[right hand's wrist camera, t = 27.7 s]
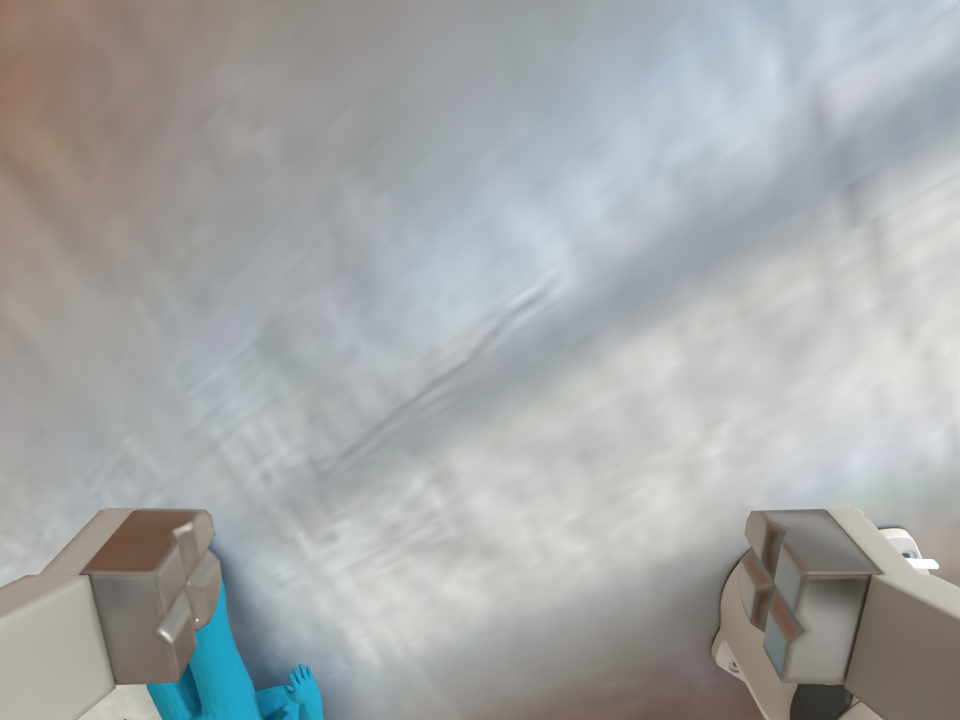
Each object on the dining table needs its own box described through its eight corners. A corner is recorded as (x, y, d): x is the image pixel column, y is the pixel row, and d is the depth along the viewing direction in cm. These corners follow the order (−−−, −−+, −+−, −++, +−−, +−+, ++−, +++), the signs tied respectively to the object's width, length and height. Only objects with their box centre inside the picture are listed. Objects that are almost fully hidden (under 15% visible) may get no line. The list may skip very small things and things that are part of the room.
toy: (216, 540, 47) (376, 909, 50) (276, 490, 57) (405, 797, 60) (13, 611, 49) (177, 960, 52) (107, 550, 60) (238, 844, 62)
